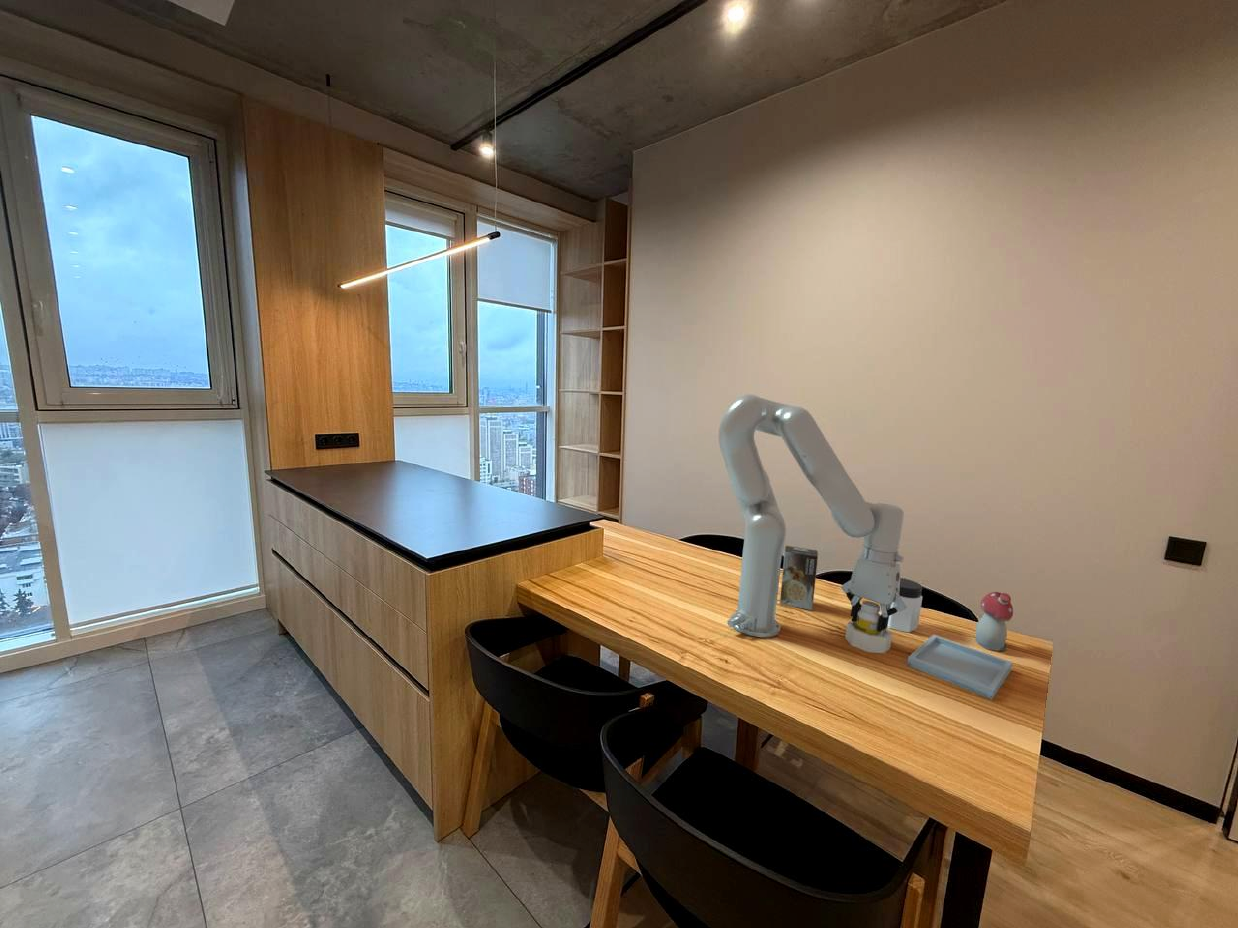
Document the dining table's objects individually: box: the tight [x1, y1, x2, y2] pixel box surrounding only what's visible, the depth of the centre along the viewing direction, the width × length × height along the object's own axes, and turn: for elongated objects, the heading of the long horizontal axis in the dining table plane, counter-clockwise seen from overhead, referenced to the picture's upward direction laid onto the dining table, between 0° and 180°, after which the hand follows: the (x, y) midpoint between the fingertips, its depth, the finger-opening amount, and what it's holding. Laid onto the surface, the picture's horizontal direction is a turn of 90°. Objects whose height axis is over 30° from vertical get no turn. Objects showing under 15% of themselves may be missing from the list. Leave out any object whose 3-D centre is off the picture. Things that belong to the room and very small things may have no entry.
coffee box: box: [779, 545, 819, 611], centre depth 142 cm, size 9×6×16 cm
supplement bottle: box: [855, 600, 881, 636], centre depth 121 cm, size 5×5×10 cm
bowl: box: [845, 619, 893, 654], centre depth 122 cm, size 9×9×4 cm
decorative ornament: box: [975, 591, 1014, 652], centre depth 124 cm, size 9×7×15 cm
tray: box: [906, 634, 1013, 700], centre depth 113 cm, size 18×16×2 cm
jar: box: [880, 577, 923, 633], centre depth 132 cm, size 9×8×12 cm
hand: (868, 624), depth 122 cm, fingers closed on supplement bottle, 5 cm apart
